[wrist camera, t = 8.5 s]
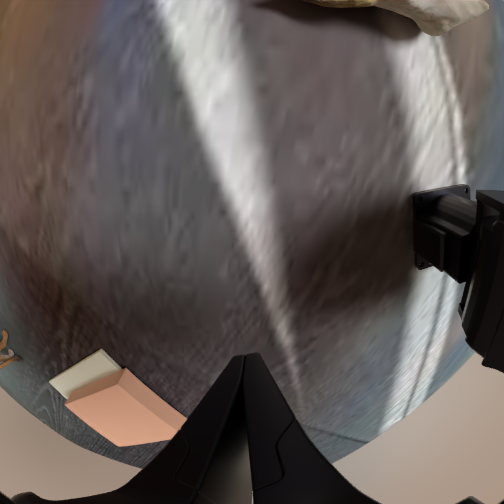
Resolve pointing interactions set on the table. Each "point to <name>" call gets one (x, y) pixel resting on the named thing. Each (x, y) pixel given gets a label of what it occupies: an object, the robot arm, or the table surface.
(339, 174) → the table surface
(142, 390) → the terracotta board
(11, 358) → the lion figurine
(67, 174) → the table surface
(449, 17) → the ceramic sculpture
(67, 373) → the rubber mat
